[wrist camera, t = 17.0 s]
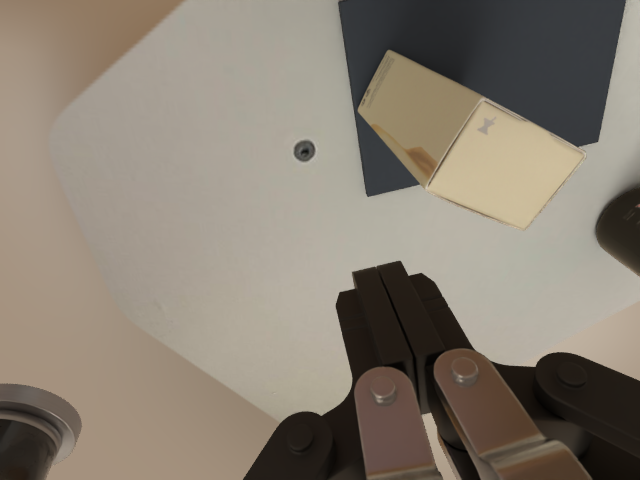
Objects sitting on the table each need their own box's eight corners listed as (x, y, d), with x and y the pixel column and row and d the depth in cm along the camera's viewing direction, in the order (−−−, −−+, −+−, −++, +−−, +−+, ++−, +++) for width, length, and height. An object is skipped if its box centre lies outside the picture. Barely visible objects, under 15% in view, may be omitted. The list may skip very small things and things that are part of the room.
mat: (366, 193, 31) (367, 197, 31) (337, 1, 24) (339, 2, 24) (592, 139, 31) (598, 142, 31) (632, -68, 24) (639, -69, 24)
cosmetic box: (354, 111, 27) (414, 190, 17) (387, 46, 25) (477, 90, 15) (431, 147, 29) (526, 237, 19) (467, 90, 27) (593, 155, 17)
